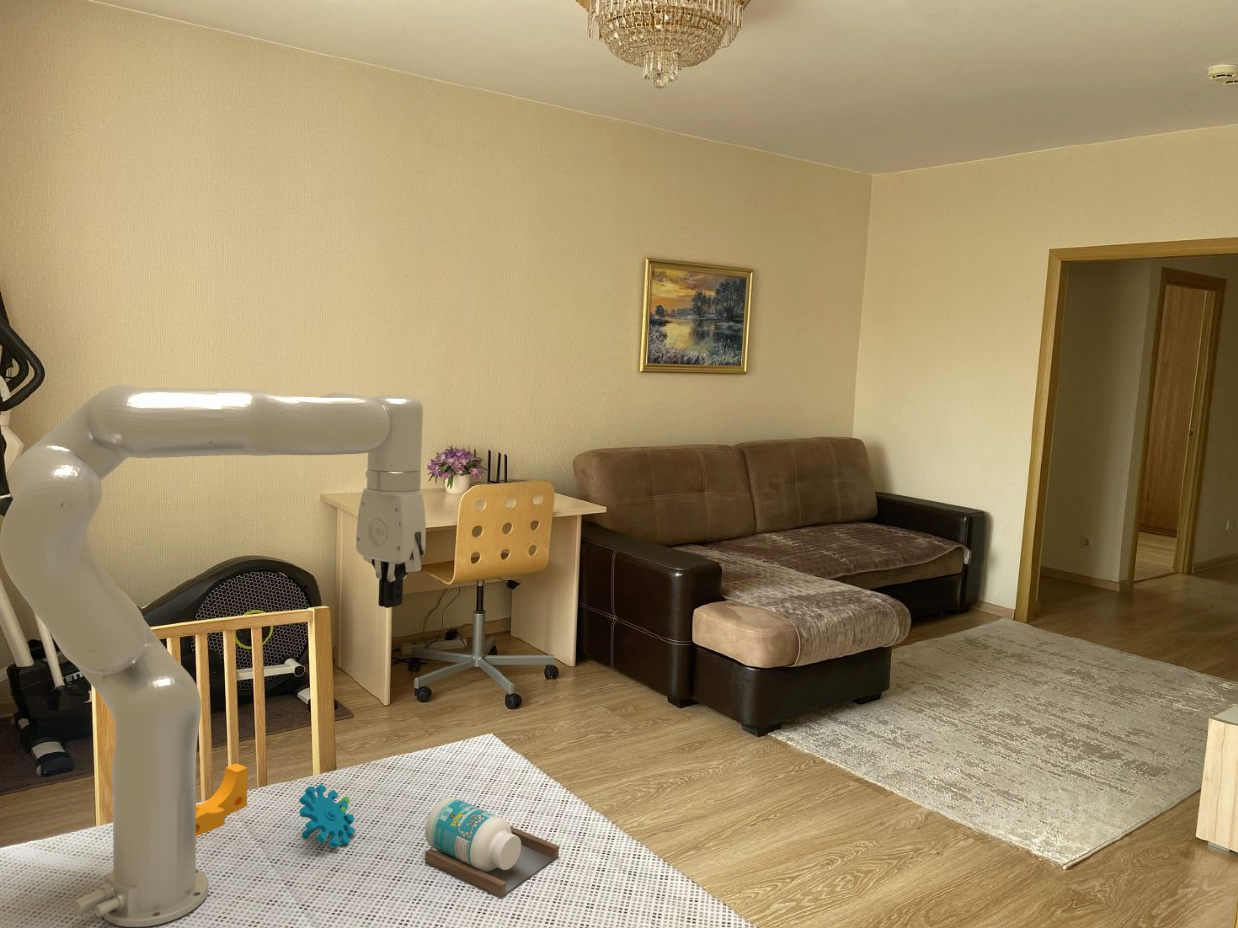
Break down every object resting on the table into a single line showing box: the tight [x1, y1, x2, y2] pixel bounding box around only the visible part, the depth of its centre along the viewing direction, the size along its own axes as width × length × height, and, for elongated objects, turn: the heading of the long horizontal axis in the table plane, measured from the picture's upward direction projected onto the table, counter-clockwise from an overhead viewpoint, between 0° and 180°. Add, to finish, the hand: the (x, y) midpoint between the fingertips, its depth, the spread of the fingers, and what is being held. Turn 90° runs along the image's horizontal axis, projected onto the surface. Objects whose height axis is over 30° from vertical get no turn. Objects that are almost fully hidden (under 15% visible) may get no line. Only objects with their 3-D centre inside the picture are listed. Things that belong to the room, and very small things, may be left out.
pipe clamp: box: [196, 763, 248, 836], centre depth 140 cm, size 12×4×6 cm, turn 152°
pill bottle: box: [424, 796, 521, 872], centre depth 133 cm, size 8×7×14 cm
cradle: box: [424, 825, 560, 899], centre depth 134 cm, size 13×14×2 cm
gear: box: [298, 784, 356, 849], centre depth 138 cm, size 11×6×10 cm
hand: (390, 605), depth 136 cm, fingers closed
